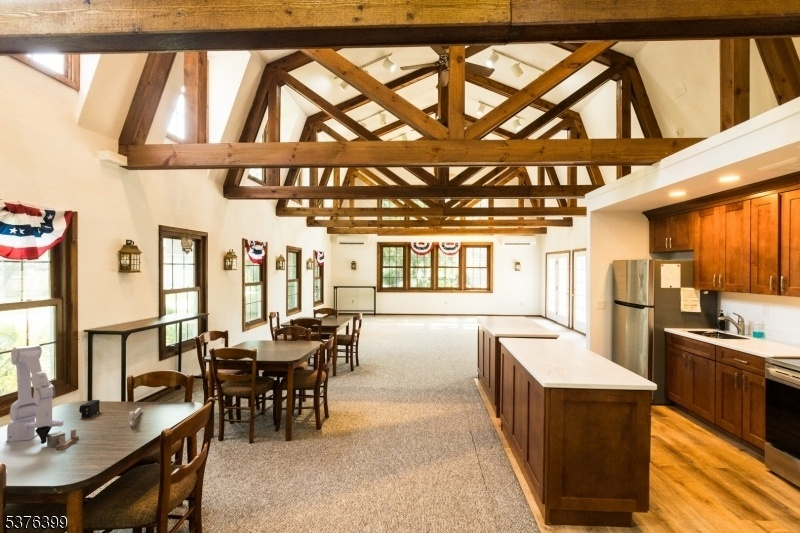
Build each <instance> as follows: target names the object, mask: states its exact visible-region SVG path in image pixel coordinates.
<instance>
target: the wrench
mask: <svg viewBox="0 0 800 533" xmlns="http://www.w3.org/2000/svg"><path fill="white" fill-rule="evenodd" d="M141 413H142V407H137V409H135V410H133V411H132V410H131V411H129V413H128V419H129V426H131V427H135V422H136V419H137V418H138V417H139V416H140V414H141Z"/></svg>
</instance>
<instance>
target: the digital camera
mask: <svg viewBox="0 0 800 533" xmlns="http://www.w3.org/2000/svg"><path fill="white" fill-rule="evenodd" d="M100 401H101V400H100V399H91V400H89V401H87V402H86V403H84V404H83V403H82V404H80V406H79V408H78V411H79V413H80V414H81V415H80V416H81V418H80V419H91V418H92V417H94V416H95V415H96V413H97V412H98V413H100ZM98 413H97V414H98ZM93 415H94V416H93ZM90 417H91V418H90Z"/></svg>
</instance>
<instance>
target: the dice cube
mask: <svg viewBox="0 0 800 533" xmlns="http://www.w3.org/2000/svg"><path fill="white" fill-rule="evenodd" d="M62 436H65V437H66V432H64V431H61V430H59V431H55V432H51V433H48V434H47V441H46V446H48V447H49V448H52V449H53V448H56V447H57V446H58V445H59V438H60V437H62Z"/></svg>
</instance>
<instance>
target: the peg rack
mask: <svg viewBox="0 0 800 533" xmlns="http://www.w3.org/2000/svg"><path fill="white" fill-rule="evenodd" d="M79 439H80V437H79V435H77V428H74V429H73V428H72V429H70V437H68V438H67V439H66V435H65V436H62V437H60V438H59V445H58V446H56V447H55V448H56V451H61V450H65V449H67V448H68V447H70V446H71V445H72V444H74V443H75V442H77V441H78V440H79Z"/></svg>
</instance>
